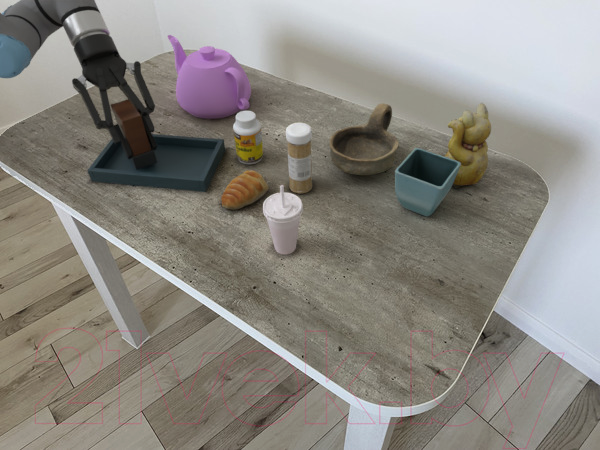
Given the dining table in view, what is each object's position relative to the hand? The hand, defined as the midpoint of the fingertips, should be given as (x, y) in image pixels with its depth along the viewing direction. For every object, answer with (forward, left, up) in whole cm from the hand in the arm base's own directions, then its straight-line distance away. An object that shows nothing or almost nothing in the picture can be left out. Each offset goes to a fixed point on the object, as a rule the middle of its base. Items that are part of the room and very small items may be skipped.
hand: (142, 152), depth 95 cm
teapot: (+5, +29, -5) cm, 30 cm away
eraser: (-3, +3, -3) cm, 5 cm away
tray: (+2, +3, -5) cm, 6 cm away
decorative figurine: (+63, +7, -5) cm, 63 cm away
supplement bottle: (+20, +8, -5) cm, 22 cm away
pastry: (+22, -4, -5) cm, 23 cm away
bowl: (+44, +10, -5) cm, 45 cm away
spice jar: (+32, 0, -5) cm, 32 cm away
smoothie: (+32, -16, -5) cm, 36 cm away
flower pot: (+55, -2, -5) cm, 55 cm away
